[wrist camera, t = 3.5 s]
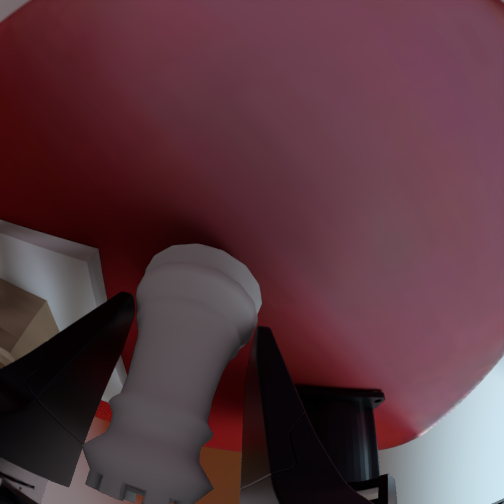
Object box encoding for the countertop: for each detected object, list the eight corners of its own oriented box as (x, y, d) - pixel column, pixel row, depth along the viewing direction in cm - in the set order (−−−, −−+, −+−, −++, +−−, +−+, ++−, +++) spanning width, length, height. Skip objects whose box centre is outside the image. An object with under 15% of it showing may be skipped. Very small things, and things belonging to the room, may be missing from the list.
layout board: (98, 248, 11) (33, 331, 7) (136, 402, 20) (119, 451, 16) (-49, 202, 10) (-91, 238, 6) (8, 340, 19) (-13, 374, 15)
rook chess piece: (140, 230, 9) (8, 439, 3) (268, 242, 9) (235, 530, 2) (158, 318, 12) (94, 485, 5) (258, 332, 12) (234, 524, 5)
